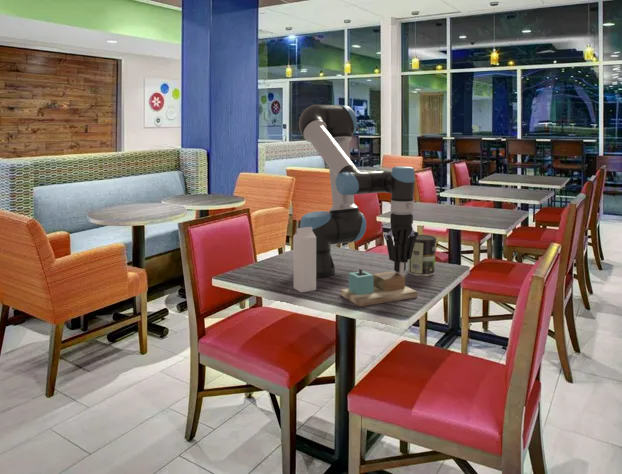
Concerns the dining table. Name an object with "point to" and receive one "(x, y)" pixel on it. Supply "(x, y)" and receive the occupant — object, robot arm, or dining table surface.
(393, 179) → the robot arm
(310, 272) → the milk
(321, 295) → the dining table surface
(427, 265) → the coffee can
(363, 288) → the teal hollow cube
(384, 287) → the block
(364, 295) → the base board
